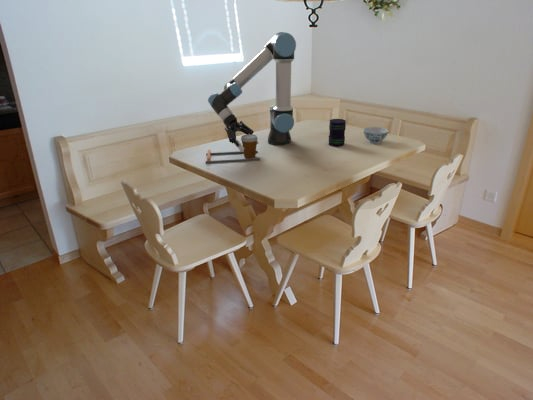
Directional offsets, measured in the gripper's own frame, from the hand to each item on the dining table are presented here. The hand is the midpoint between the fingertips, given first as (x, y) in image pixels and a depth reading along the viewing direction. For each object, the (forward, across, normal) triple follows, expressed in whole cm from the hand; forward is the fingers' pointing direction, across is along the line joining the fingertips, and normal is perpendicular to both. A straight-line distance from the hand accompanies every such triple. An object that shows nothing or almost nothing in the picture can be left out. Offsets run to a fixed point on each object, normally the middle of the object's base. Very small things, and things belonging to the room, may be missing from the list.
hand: (250, 147), depth 223 cm
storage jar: (+26, -47, +18) cm, 57 cm away
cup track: (-2, +6, -10) cm, 12 cm away
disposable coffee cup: (+4, 0, -5) cm, 6 cm away
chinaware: (+40, -64, +31) cm, 82 cm away
